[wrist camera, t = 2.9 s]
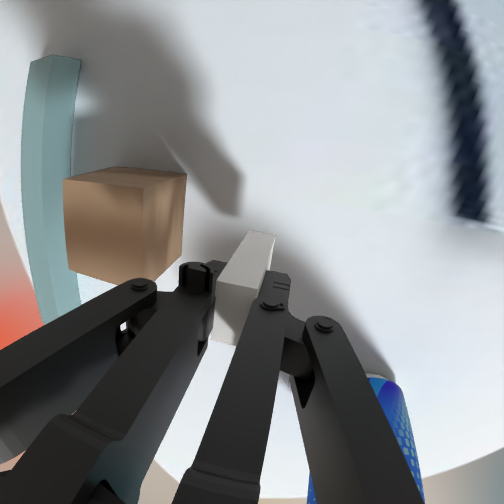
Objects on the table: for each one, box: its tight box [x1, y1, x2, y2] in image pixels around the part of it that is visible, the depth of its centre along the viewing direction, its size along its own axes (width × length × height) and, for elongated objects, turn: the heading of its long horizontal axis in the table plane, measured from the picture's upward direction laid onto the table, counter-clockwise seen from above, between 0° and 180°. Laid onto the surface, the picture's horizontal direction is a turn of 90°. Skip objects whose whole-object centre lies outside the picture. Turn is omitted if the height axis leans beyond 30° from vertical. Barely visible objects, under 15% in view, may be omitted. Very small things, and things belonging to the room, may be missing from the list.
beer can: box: [307, 373, 425, 504], centre depth 17 cm, size 8×8×16 cm
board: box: [21, 55, 81, 324], centre depth 20 cm, size 24×3×4 cm, turn 172°
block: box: [63, 167, 187, 285], centre depth 18 cm, size 6×6×6 cm
